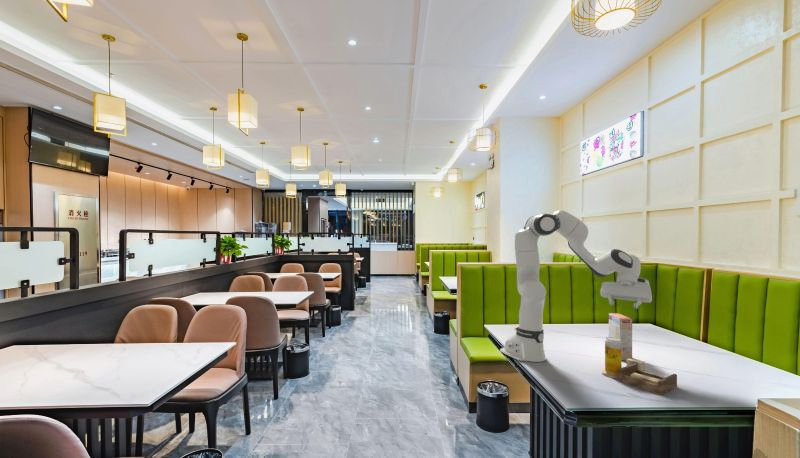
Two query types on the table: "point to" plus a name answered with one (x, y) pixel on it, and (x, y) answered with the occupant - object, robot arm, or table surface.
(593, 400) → the table surface
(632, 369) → the rack
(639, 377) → the offcut bottom
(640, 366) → the offcut top
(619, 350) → the beer glass
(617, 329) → the cracker box
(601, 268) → the robot arm
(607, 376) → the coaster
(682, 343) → the table surface
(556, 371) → the table surface
